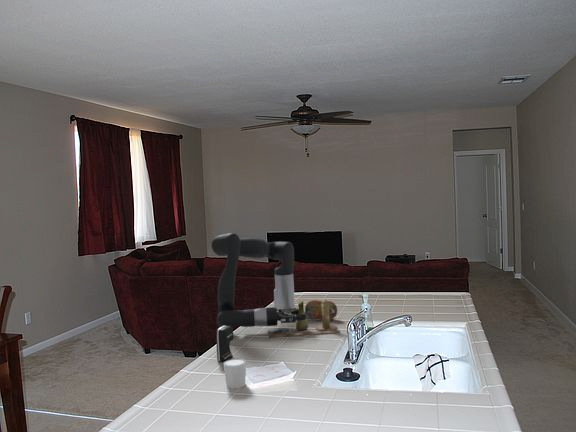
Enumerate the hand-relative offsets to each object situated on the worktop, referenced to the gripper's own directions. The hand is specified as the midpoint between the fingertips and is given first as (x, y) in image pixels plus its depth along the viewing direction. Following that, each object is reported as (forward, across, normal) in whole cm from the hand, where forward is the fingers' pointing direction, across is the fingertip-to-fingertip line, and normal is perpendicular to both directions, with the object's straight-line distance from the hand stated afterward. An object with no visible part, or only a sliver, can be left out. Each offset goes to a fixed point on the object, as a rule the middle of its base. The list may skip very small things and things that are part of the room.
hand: (304, 314), depth 214 cm
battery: (-32, -31, +7) cm, 45 cm away
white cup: (-28, -56, +7) cm, 63 cm away
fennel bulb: (-1, 0, +7) cm, 7 cm away
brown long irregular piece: (-1, -2, +7) cm, 7 cm away
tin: (+10, +17, +7) cm, 20 cm away
